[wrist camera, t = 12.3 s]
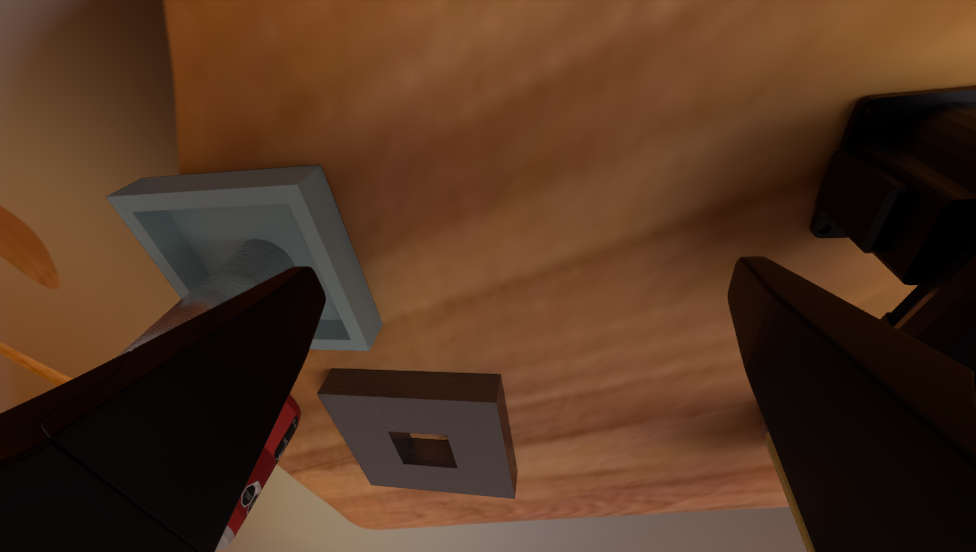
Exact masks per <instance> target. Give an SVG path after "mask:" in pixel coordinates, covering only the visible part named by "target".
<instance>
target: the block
mask: <svg viewBox="0 0 976 552" xmlns="http://www.w3.org/2000/svg"><path fill="white" fill-rule="evenodd" d="M317 395H318V396H319V398H320V400H321V401H322V403H323V405H324V406H325V408H326V410H327V412H328V413H329V415H330V417H331V418H332V420H333V422H334V423H335V425H336V427H337V428H338V430H339V432H340V433H341V435H342V437H343V438H344V440H345V442H346V443H347V445H348V447H349V449H350V450H351V452H352V454H353V455H354V457H355V459H356V460H357V462H358V464H359V465H360V467H361V469H362V470H363V472H364V474H365V475H366V477H367V479H368V480H369V482H370V484H371V485H376V486H387V487H397V488H407V489H418V490H428V491H439V492H449V493H460V494H470V495H480V496H491V497H501V498H512V499H515V492H516V482H517V472H518V471H517V466H516V460H515V454H514V448H513V442H512V437H511V431H510V425H509V419H508V413H507V408H506V402H505V396H504V390H503V384H502V379H501V375H496V374H468V373H440V372H412V371H384V370H356V369H331V371H330V372H329V374H328V376H327V378H326V379H325V381H324V383H323V384H322V386H321V388H320V390H319V391H318V393H317ZM410 433H420V434H434V435H447V437H448V440H449V441H444V440H430V439H415V438H411V436H410Z"/></svg>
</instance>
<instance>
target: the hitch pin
mask: <svg viewBox="0 0 976 552" xmlns="http://www.w3.org/2000/svg"><path fill="white" fill-rule="evenodd" d="M294 266H295V265H294V263H293V261H292V259H291V258H290V257H289V255H288V254H287V253H286V252H285V251H284V250H283V249H281V248H280V247H279V246H277V245H275V244H273V243H271V242H269V241H266V240H261V239H252V240H249V241H247V242H245V243H244V244H243V245H242V246H241V247H240V248H239V249H238V250H236V251H235V252H234V253H233V254H232V255H231V256H230V257H229V258H227V259H226V260H225V261H224V262H223V263H222V264H221V265H220V266H218V267H217V268H216V269H215V270H214V271H213V272H212V273H211V274H209V275H208V276H207V277H206V278H205V279H204V280H203V281H202V282H200V283H199V284H198V285H197V286H196V287H195V288H194V289H193V290H191V291H190V292H189V293H188V294H187V295H186V296H185V297H184V298H182V299H181V300H180V301H179V302H178V303H177V304H176V305H175V306H173V308H171V309H170V310H169V311H168V312H167V313H166V314H164V315H163V316H162V317H161V318H160V319H159V320H158V321H157V322H156V323H154V324H153V325H152V326H151V327H150V328H149V329H148V330H146V331H145V332H144V333H143V334H142V335H141V336H140V337H139V338H137V339H136V340H135V341H134V342H133V343H132V344H131V345H130V346H129V347H127V348H126V349H125V350H124V351H123V352H122V353H121V354H119V355H118V356H120V355H122V354H124V353H126V352H128V351H132V350H133V349H134V348H136V347H138V346H140V345H142V344H143V343H145V342H147V341H149V340H151V339H153V338H155V337H157V336H159V335H161V334H163V333H165V332H167V331H169V330H171V329H173V328H175V327H176V326H178V325H180V324H182V323H184V322H186V321H188V320H190V319H192V318H194V317H196V316H198V315H200V314H202V313H204V312H206V311H208V310H209V309H211V308H213V307H215V306H217V305H219V304H221V303H223V302H225V301H227V300H229V299H231V298H233V297H235V296H237V295H239V294H241V293H243V292H244V291H246V290H248V289H250V288H252V287H254V286H256V285H258V284H260V283H262V282H264V281H266V280H268V279H270V278H272V277H274V276H276V275H277V274H279V273H281V272H283V271H285V270H287V269H289V268H291V267H294ZM118 356H117V357H118Z"/></svg>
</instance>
